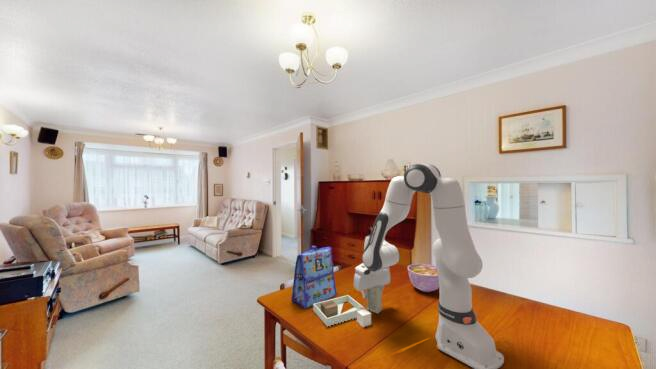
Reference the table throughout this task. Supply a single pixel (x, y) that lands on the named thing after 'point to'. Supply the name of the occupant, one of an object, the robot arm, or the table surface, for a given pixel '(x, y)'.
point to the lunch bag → (314, 277)
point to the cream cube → (364, 317)
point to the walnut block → (329, 308)
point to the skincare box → (374, 299)
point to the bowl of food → (424, 277)
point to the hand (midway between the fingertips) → (372, 295)
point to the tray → (340, 317)
